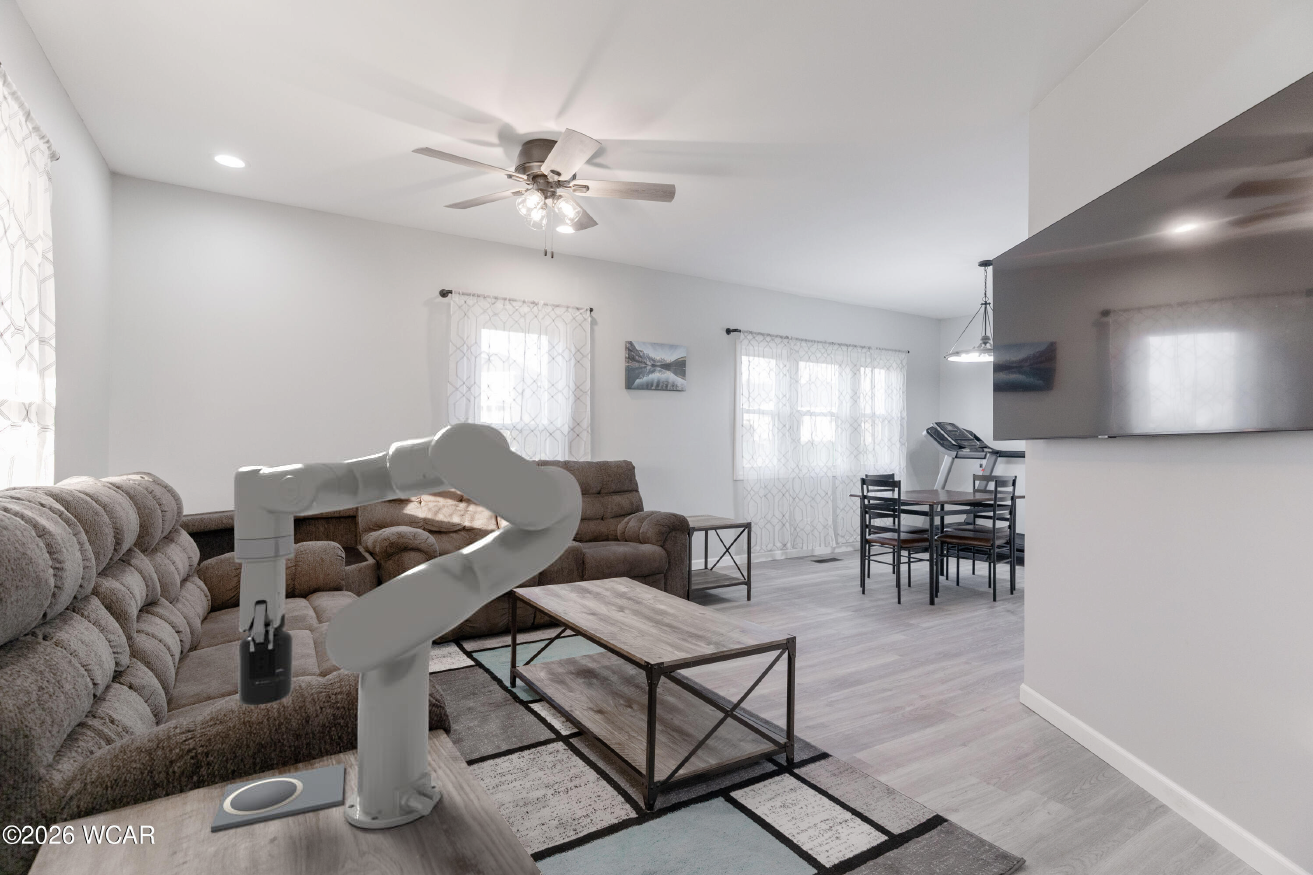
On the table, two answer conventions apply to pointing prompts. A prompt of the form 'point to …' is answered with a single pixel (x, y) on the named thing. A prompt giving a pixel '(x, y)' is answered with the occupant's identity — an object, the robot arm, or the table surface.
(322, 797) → the mat
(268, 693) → the supplement bottle
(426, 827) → the table surface
